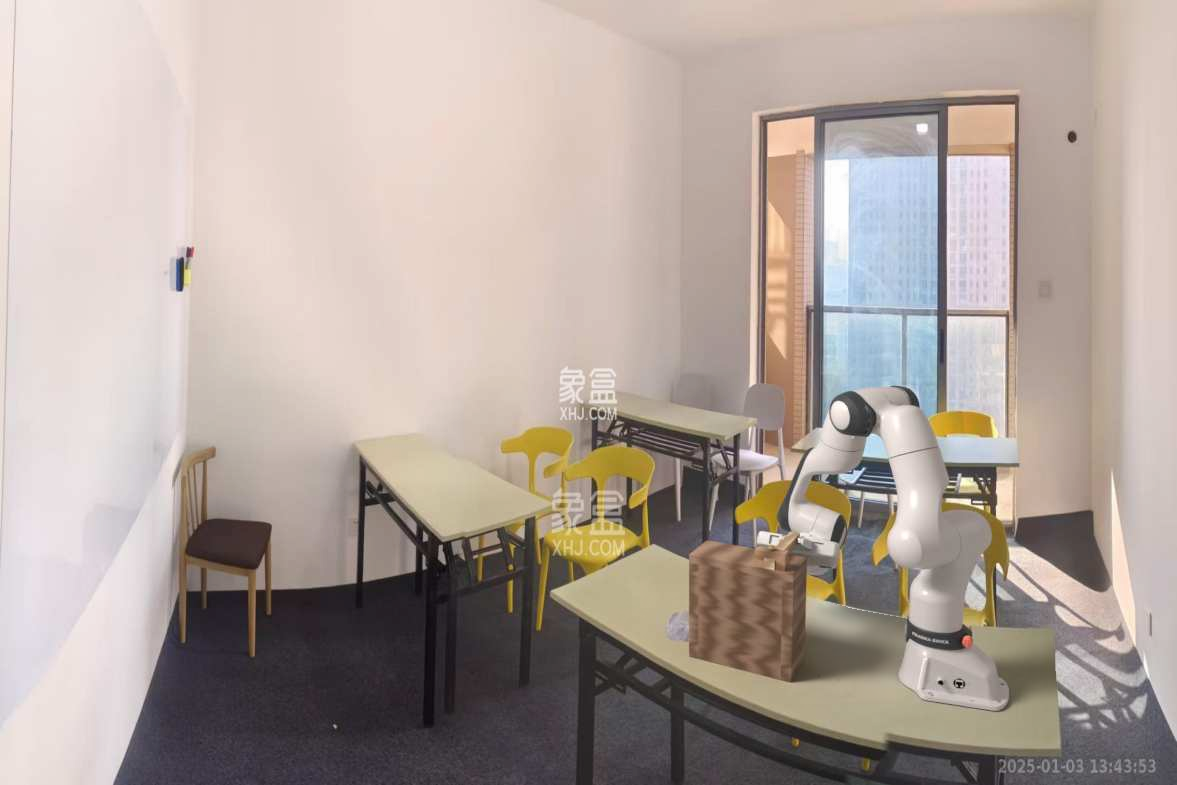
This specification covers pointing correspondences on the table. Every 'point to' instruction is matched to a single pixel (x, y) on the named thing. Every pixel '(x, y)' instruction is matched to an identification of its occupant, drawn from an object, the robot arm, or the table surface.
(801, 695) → the table surface
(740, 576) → the wood grain box
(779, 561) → the marking gauge
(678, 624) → the lavender lumpy chunk
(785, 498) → the robot arm
